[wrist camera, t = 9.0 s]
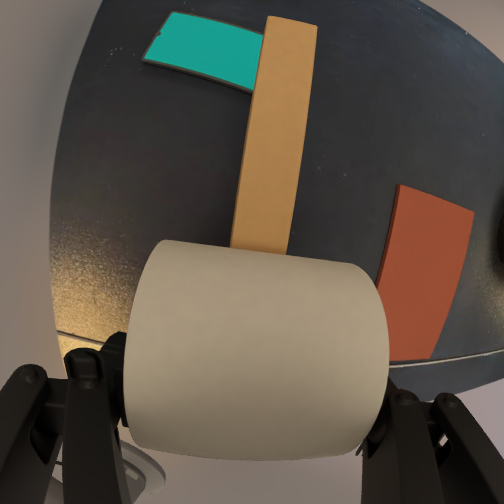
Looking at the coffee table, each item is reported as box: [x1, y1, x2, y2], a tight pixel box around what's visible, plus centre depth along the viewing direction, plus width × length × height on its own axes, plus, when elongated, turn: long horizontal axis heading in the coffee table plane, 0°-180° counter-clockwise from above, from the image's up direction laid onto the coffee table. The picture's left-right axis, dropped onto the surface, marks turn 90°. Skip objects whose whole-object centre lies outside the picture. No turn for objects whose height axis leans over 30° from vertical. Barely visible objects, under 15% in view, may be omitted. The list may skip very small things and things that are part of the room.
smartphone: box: [142, 11, 263, 95], centre depth 23 cm, size 7×1×15 cm
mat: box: [375, 184, 474, 361], centre depth 31 cm, size 22×14×1 cm, turn 170°
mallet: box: [123, 16, 389, 461], centre depth 9 cm, size 18×7×8 cm, turn 172°
